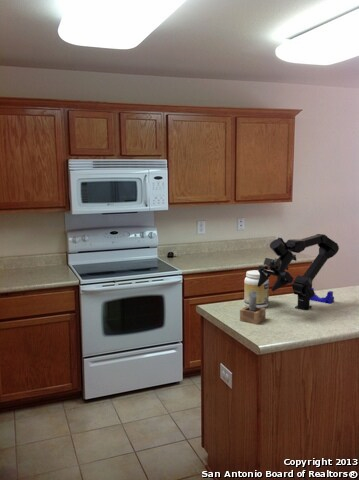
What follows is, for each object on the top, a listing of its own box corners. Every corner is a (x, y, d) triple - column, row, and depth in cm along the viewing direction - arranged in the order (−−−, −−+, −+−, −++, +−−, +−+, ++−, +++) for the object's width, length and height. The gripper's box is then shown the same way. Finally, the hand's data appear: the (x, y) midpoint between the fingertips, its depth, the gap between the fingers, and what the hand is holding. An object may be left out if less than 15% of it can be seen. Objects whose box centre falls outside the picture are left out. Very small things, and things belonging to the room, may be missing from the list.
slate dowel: (255, 318, 191) (255, 290, 189) (257, 320, 188) (257, 292, 186) (248, 319, 190) (248, 291, 188) (250, 321, 187) (250, 293, 185)
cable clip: (333, 302, 214) (334, 290, 213) (329, 304, 211) (330, 292, 210) (311, 298, 222) (312, 287, 221) (307, 299, 219) (308, 288, 218)
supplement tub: (268, 309, 204) (269, 275, 201) (243, 308, 206) (243, 274, 204) (268, 302, 216) (268, 269, 213) (244, 301, 218) (244, 269, 216)
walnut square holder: (248, 315, 195) (248, 305, 194) (265, 319, 190) (265, 308, 189) (240, 320, 188) (240, 310, 188) (256, 324, 183) (256, 313, 182)
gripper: (260, 248, 199) (242, 274, 195) (289, 254, 183) (269, 282, 179) (272, 262, 204) (255, 288, 200) (301, 269, 188) (283, 297, 184)
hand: (264, 288), depth 191 cm, fingers open, 9 cm apart
